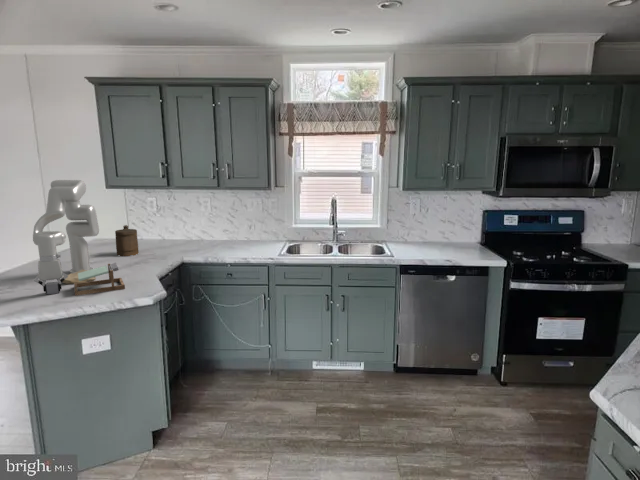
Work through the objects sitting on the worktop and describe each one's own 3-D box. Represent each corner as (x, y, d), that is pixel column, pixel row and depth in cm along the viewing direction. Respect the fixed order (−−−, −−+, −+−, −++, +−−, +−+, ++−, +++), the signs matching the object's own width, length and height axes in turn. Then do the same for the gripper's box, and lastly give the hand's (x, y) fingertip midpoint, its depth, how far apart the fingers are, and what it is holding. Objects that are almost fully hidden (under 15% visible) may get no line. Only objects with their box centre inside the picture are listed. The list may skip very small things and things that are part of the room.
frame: (74, 287, 218) (72, 267, 216) (121, 280, 230) (119, 262, 228) (75, 295, 204) (72, 275, 202) (125, 288, 216) (123, 269, 214)
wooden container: (136, 251, 309) (134, 223, 304) (140, 255, 296) (138, 225, 292) (115, 253, 301) (113, 224, 296) (118, 257, 288) (115, 227, 284)
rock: (100, 276, 241) (100, 269, 240) (95, 284, 227) (95, 277, 226) (67, 277, 235) (66, 269, 234) (60, 286, 221) (59, 278, 220)
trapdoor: (78, 275, 217) (77, 272, 216) (116, 265, 226) (115, 262, 226) (79, 281, 205) (78, 278, 205) (118, 270, 214) (118, 267, 214)
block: (47, 291, 209) (46, 282, 208) (58, 290, 211) (57, 281, 210) (47, 294, 205) (45, 285, 204) (58, 293, 207) (57, 283, 206)
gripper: (68, 254, 212) (72, 287, 216) (28, 258, 203) (33, 292, 207) (68, 257, 206) (72, 291, 209) (27, 261, 197) (32, 296, 200)
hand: (53, 291), depth 208 cm, fingers closed on block, 5 cm apart
